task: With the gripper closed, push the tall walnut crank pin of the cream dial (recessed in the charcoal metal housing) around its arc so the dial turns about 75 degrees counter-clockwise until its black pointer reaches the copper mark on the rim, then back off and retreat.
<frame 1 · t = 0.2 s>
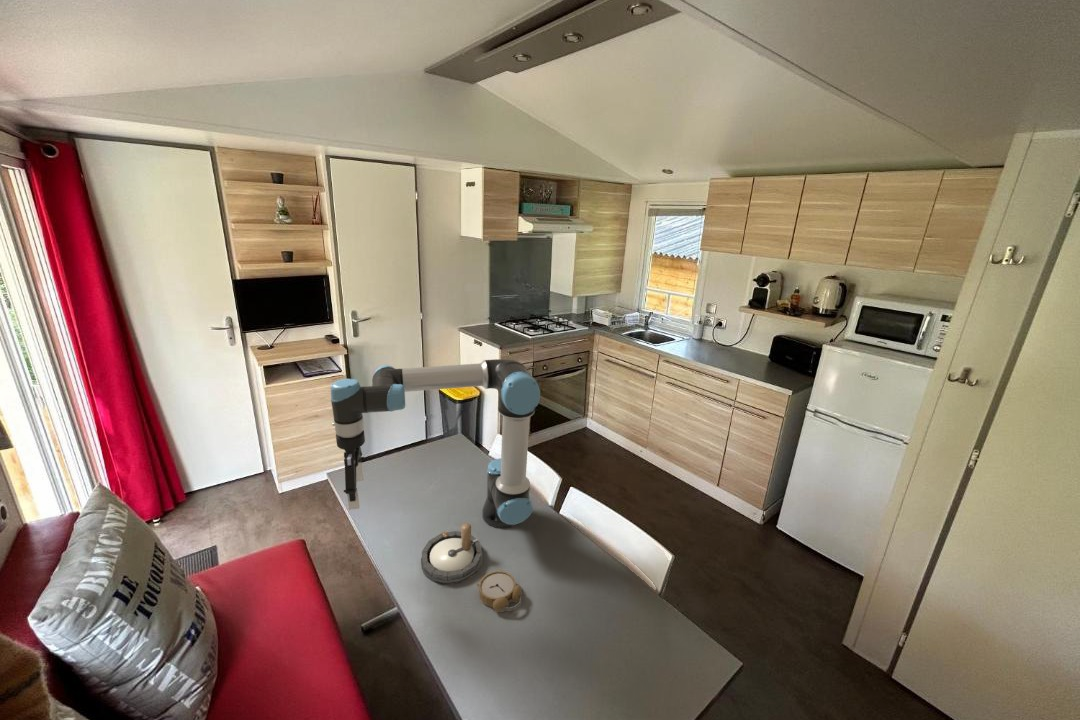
hand: (356, 493, 132), 28 cm above the table, fingers open, 13 cm apart
alarm clock: (500, 597, 133), on the table
housing: (452, 559, 145), on the table
dial: (451, 544, 143), point 6 cm above the table, hinge at 0.0°
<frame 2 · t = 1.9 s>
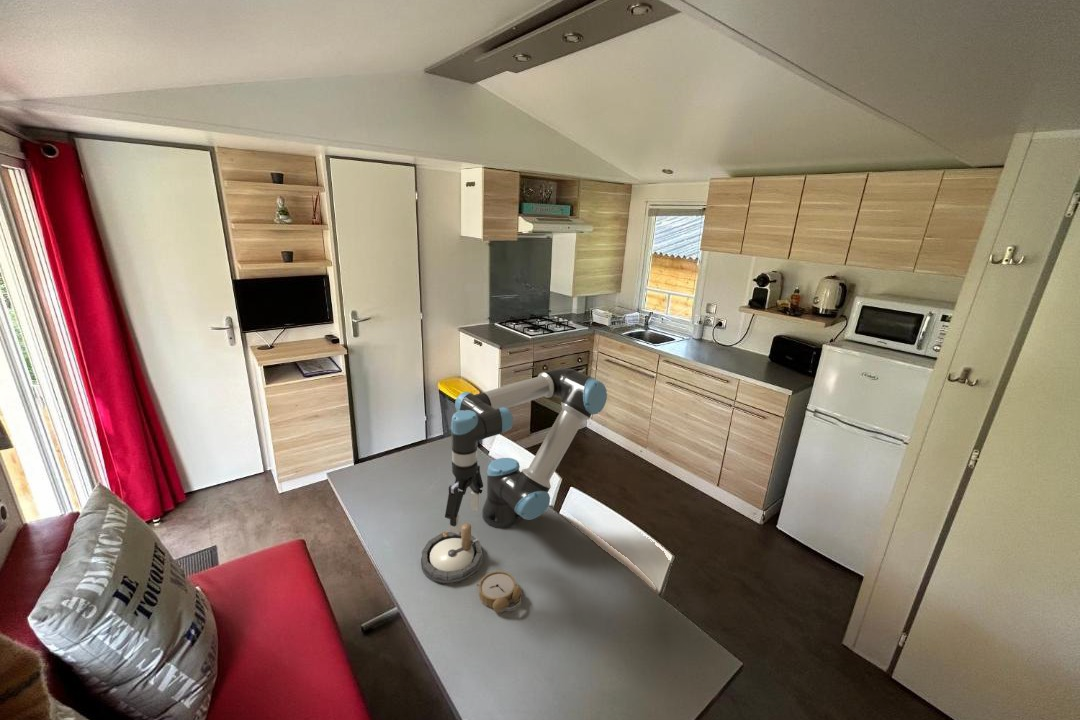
hand: (465, 520, 137), 18 cm above the table, fingers open, 11 cm apart
nothing on the table moved.
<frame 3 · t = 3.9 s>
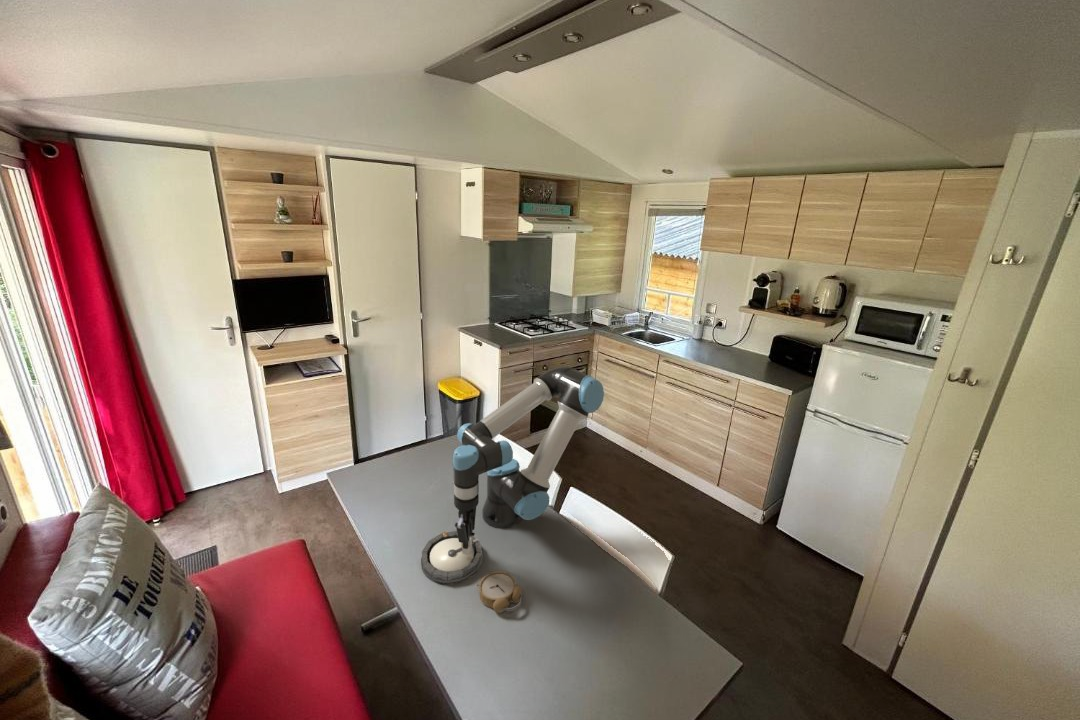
hand: (467, 553, 143), 4 cm above the table, fingers closed
dial: (451, 544, 143), point 6 cm above the table, hinge at 0.0°, touching gripper
everything else where it was.
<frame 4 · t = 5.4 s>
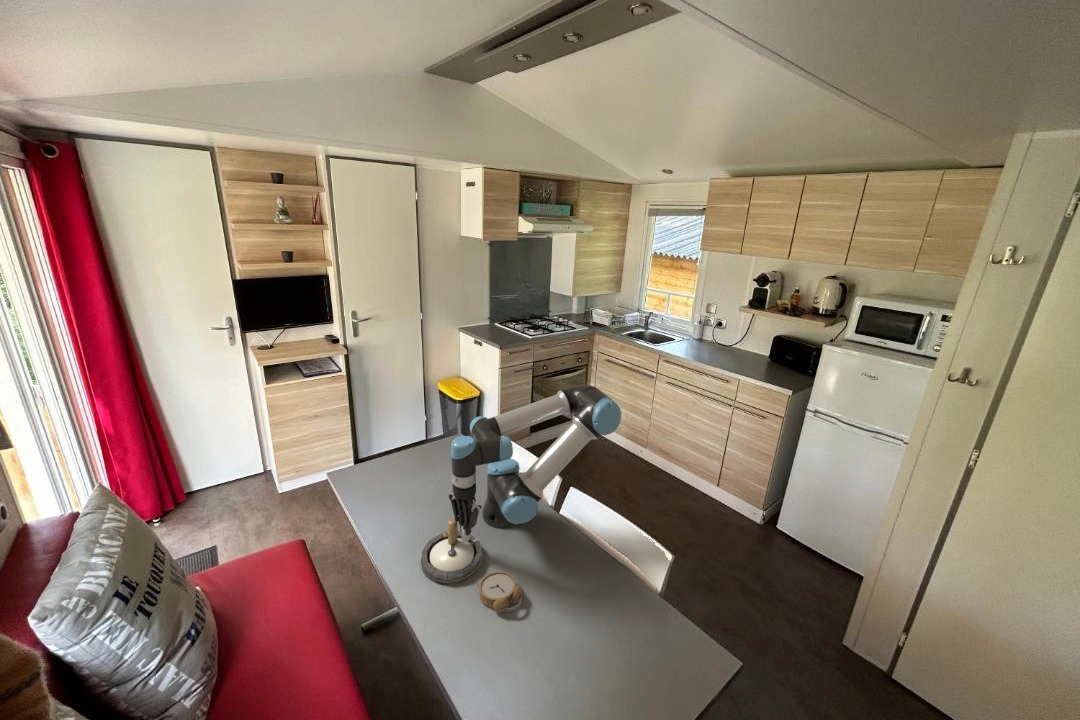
hand: (466, 540, 148), 4 cm above the table, fingers closed
dial: (451, 544, 143), point 6 cm above the table, hinge at 60.9°, touching gripper
everything else where it was.
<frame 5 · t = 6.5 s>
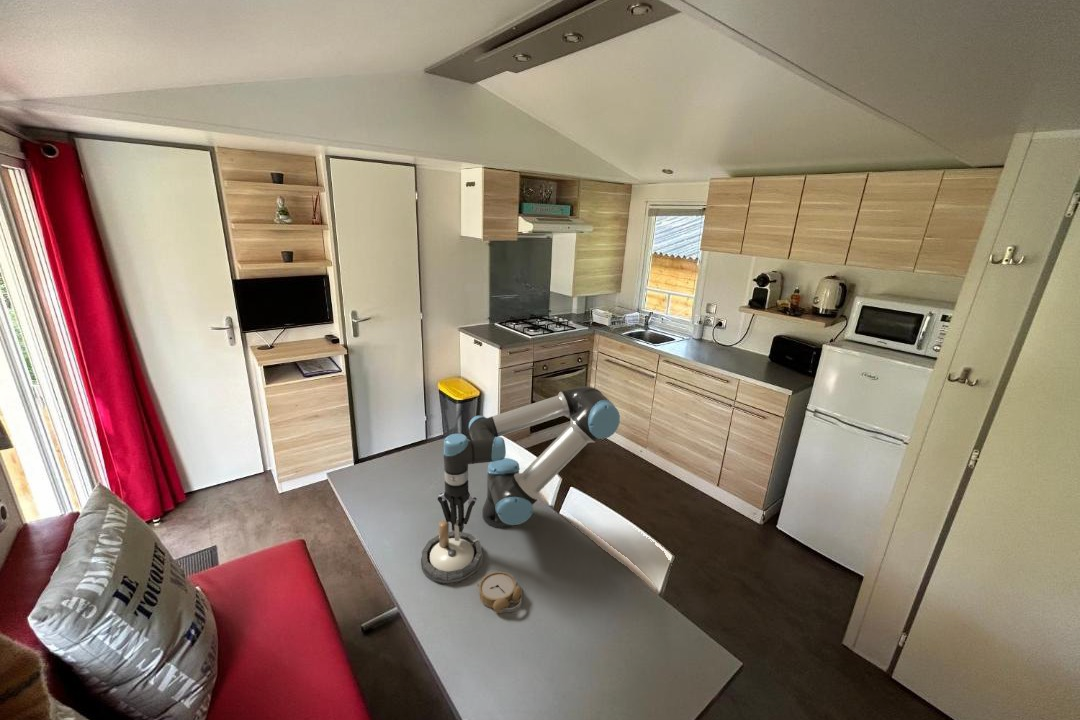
hand: (458, 537, 149), 4 cm above the table, fingers closed
dial: (451, 544, 143), point 6 cm above the table, hinge at 93.5°, touching gripper
everything else where it was.
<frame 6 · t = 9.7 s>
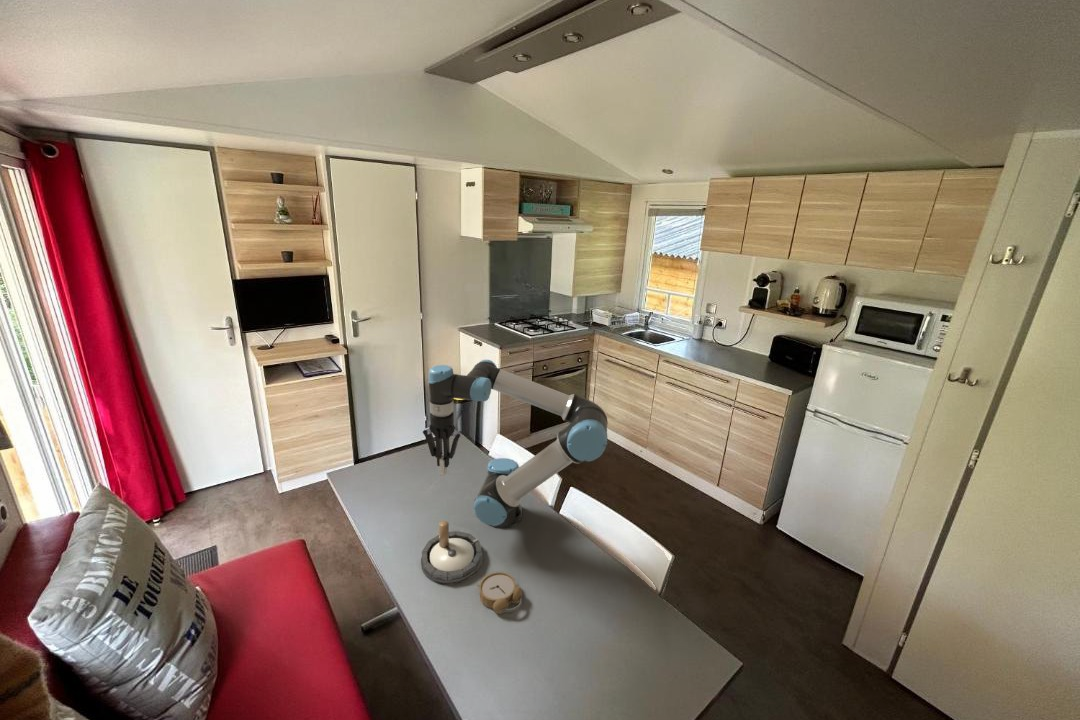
hand: (443, 473, 149), 24 cm above the table, fingers closed
dial: (451, 544, 143), point 6 cm above the table, hinge at 93.5°
everything else where it was.
at the end: dial at +94° (first picture: +0°); the gripper is holding nothing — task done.
